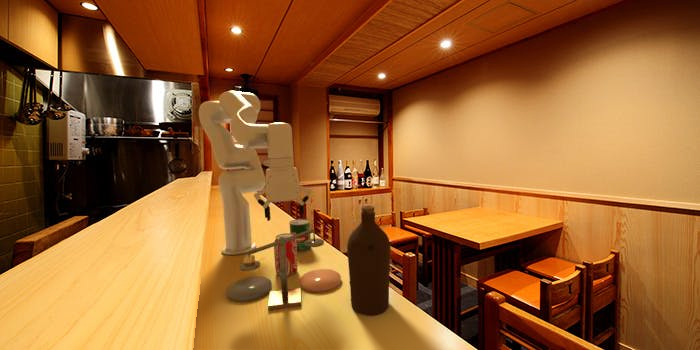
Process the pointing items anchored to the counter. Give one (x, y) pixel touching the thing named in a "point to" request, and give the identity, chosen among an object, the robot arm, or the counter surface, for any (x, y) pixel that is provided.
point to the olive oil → (369, 265)
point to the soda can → (290, 255)
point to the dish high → (320, 280)
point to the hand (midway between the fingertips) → (284, 218)
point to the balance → (285, 295)
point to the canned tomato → (300, 227)
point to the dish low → (249, 289)
